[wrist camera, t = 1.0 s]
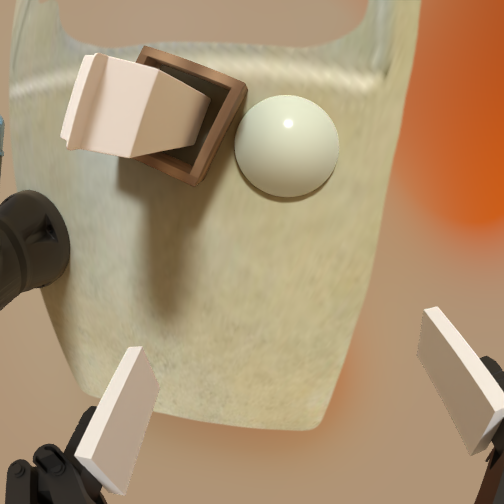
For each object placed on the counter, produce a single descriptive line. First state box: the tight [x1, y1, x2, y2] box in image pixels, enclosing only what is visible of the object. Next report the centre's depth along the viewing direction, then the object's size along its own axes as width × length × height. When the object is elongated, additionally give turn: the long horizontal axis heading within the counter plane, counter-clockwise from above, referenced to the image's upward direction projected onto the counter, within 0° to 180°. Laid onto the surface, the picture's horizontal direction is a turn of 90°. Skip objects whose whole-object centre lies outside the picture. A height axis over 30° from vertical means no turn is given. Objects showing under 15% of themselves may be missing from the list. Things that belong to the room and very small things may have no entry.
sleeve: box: [132, 46, 248, 187], centre depth 33 cm, size 12×12×5 cm
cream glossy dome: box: [235, 95, 339, 197], centre depth 35 cm, size 12×12×1 cm
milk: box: [60, 53, 211, 158], centre depth 25 cm, size 6×6×22 cm
